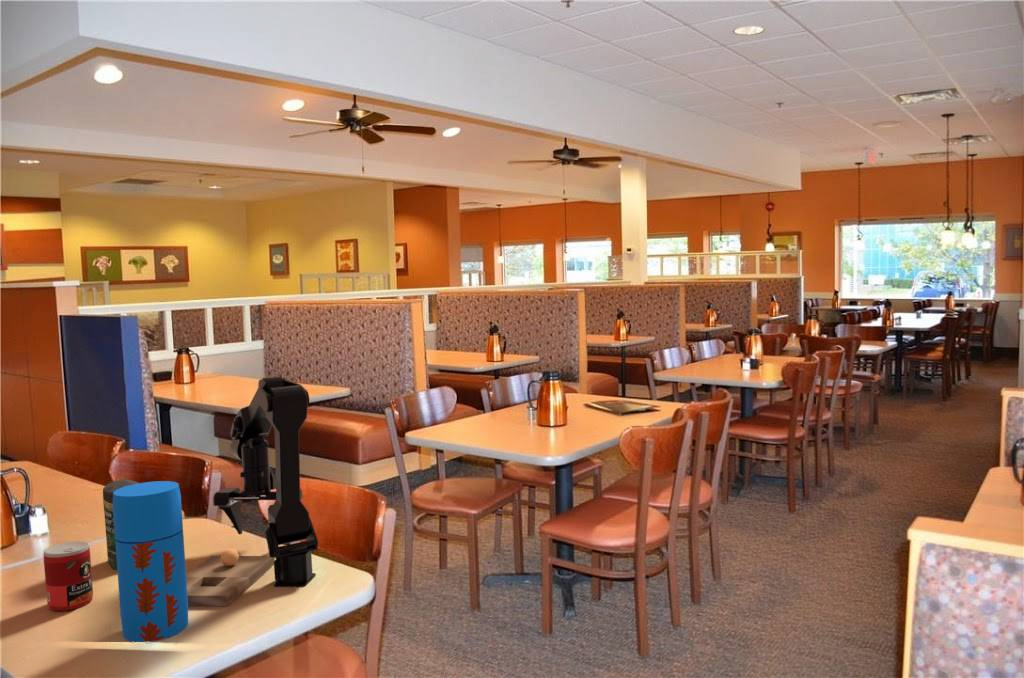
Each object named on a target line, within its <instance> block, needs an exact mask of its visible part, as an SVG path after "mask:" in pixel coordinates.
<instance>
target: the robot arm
mask: <svg viewBox="0 0 1024 678" xmlns="http://www.w3.org/2000/svg"><path fill="white" fill-rule="evenodd" d="M257 386H258V388H257V389H256V391H255V394H254V395H253V397H252V400H251V401H250V403H249V405H247V406H244V407H242V408H240V409H239V410H238V411H237V413H236V416H235V417H234V418H233V421H232V424H231V428H230V432H229V435H230V438H231V442H230V452H231V454H232V455H233V456H234V457H235V458H237V459H239V460H240V461H241V462H242V463H241V465H242V471H241V472H240V478H242V479H243V481H242V482H243V490H241V489H240V487H224V488H221V489H220V490H218V491H216V492H215V493H214V494H213V497H212V506H213V507H218V509H219V510H222V511H223V512H224V514H225V515H226V516H227V517H228V519H229V520H230V522H231V523H232V526H233V527H234V528H235V530H236V532H237V534H238V535H242V534H243V519H242V511H241V509H242V503H243V501H274V502H273V504H269V506H268V507H267V515H268V517H267V520H268V521H267V523H266V525H265V531H264V534H265V540H266V543H267V550H268V556H269V557H273V558H275V561H274V565H273V568H274V569H273V572H274V581H275V583H274V584H273V587H274V588H304V587H307V585H309V583H311V581H312V580H313V579H315V578H316V576H317V574H316V573H315V572H314V573H313V560H312V558H313V557H312V551H318V549H319V548H318V546H319V540H318V537H317V535H316V532H315V528H314V526H313V523H312V520H311V517H310V513H309V510H308V509H307V508H306V507H305V505H304V504H303V502H302V499H303V491H302V489H301V473H300V472H301V471H300V470H301V467H300V466H301V465H300V462H301V461H300V430H301V428H302V427H303V425H304V423H305V421H306V420H307V418H308V407H309V406H310V396H309V392H308V390H307V389H306V388H305V387H304V386H302V384H300V383H298V382H294V381H290V380H288V379H286V377H284V376H283V377H282V376H272V377H271V376H269V377H262V378H261V379H260V378H259V380H258V384H257ZM272 429H273V431H274V453H275V454H274V455H275V457H274V459H275V462H274V463H275V473H273V468H272V466H270V457H269V456H270V455H269V442H268V440H266V439H265V438H264V437H267V436H269V434H270V432H271V430H272ZM273 490H275V491H273ZM304 540H305V541H304ZM299 541H300V542H299ZM285 544H286V545H285ZM280 545H281V546H280Z"/></svg>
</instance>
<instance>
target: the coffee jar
mask: <svg viewBox="0 0 1024 678" xmlns="http://www.w3.org/2000/svg"><path fill="white" fill-rule="evenodd" d="M139 483H140V482H138V481H134V480H132V479H129V478H124V479H118V480H114V481H113V480H112V481H109V482H108V483H107V484H106V485H105V486H103V488H102V504H103V512H104V513H103V514H104V526H105V538H106V551H107V563H108V565H109V567H110V568H112V569H113V570H116V571H117V559H116V545H115V532H114V518H113V492H114V491H115V490H117V489H119V488H122V487H125V486H129V485H133V484H139Z"/></svg>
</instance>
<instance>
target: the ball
mask: <svg viewBox="0 0 1024 678" xmlns="http://www.w3.org/2000/svg"><path fill="white" fill-rule="evenodd" d="M220 556H221V562H222V563H223V564H224V565H226V566H232V565H234V564H236V563H237V561H238V558H239V556H240V555H239V552H238V551H237V550H236V549H235V548H227V549H225V550H223V552H222V553H221V555H220Z"/></svg>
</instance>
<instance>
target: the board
mask: <svg viewBox="0 0 1024 678" xmlns="http://www.w3.org/2000/svg"><path fill="white" fill-rule="evenodd" d="M275 560H276V558H275V557H274V558H273V557H269V555H239V558H238V561H237V563H236V564H234V565H232V566H226V565H224V564H223V563H222V562H221V555H211V556H210V557H209V558H208V557H207V559H205V560H204V561H203V562H201V563H200V564H199V565H197V566H195V567H194V568H192V569H191V570H190V571H189V572H186V581H187V596H188V607H228V606H231V604H232V603H233V602H234V601H235V600H236V599H238V598H239V597H240V596H241V595H242V594H244V593H245V592H246V591H247V590H248V589H249V588H251V586H252V585H254V584H255V583H256V582H257V581H259V579H261V578H262V577H263V576H264V575H265V574H266V573H267V572H268V571H269V570H270V569H271V568H272V567H274V561H275Z"/></svg>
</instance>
